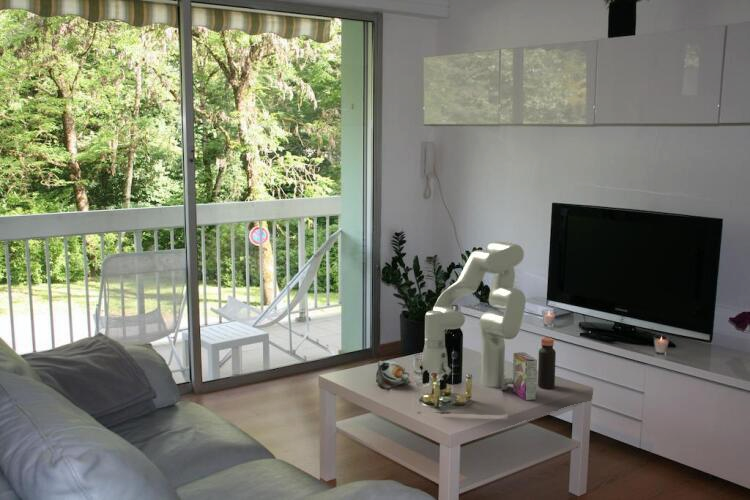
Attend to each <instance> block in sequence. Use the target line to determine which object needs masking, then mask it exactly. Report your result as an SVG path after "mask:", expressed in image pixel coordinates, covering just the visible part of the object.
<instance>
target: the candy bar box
mask: <svg viewBox="0 0 750 500" xmlns="http://www.w3.org/2000/svg"><path fill="white" fill-rule="evenodd" d="M537 361H538V360H537V358H535V357H532V356H531V355H530V354H528V353H526V352H524V351H523V352H522V351H521V352H520V351H519V352H514V353H513V364H512V365H513V369H512V370H513V372H512V374H513V375H512V379H513V384H512V385H513V386H512V392H513V393H514V394H515V395H517V396H519V397H520V398H521V399H523V400H524V401H534V400H537V375H538V368H537V365H538V362H537Z"/></svg>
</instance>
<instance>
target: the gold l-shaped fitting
mask: <svg viewBox="0 0 750 500" xmlns="http://www.w3.org/2000/svg"><path fill="white" fill-rule="evenodd" d="M433 385H434V394H430V393H423V395H422V396H423V403H424V404H434V406H439V386H440V381H437V382H433Z"/></svg>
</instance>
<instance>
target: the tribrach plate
mask: <svg viewBox="0 0 750 500" xmlns="http://www.w3.org/2000/svg"><path fill="white" fill-rule="evenodd" d="M429 394H432V392H431V393H429ZM456 395H460V393H455V392H451V395H449V396H442V395H440V393H439V406H434V404H424V403H423V395H422V396H421V397H420V398H419V399H418V401H419V403H420V404H421V405H422V406H423V407H426V408H430V409H433V410H446V411H447V410H448V411H451V410H459V409H464V408H467V407H468V406H470V405H471V404H472V399H471V398H467V404H466V405H456V404H455V396H456ZM434 413H436V414H445V412H441V411H434ZM447 414H450V412H446V415H447Z"/></svg>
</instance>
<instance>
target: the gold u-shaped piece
mask: <svg viewBox="0 0 750 500" xmlns="http://www.w3.org/2000/svg"><path fill="white" fill-rule="evenodd" d="M430 376H431V393H432V394H434V385H433V382H438V374H436V373H433V372H430ZM439 393H440V395H442V396H449V395H451V393H452V386H450V385H447V388H446V389H443V390H440V389H439Z"/></svg>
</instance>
